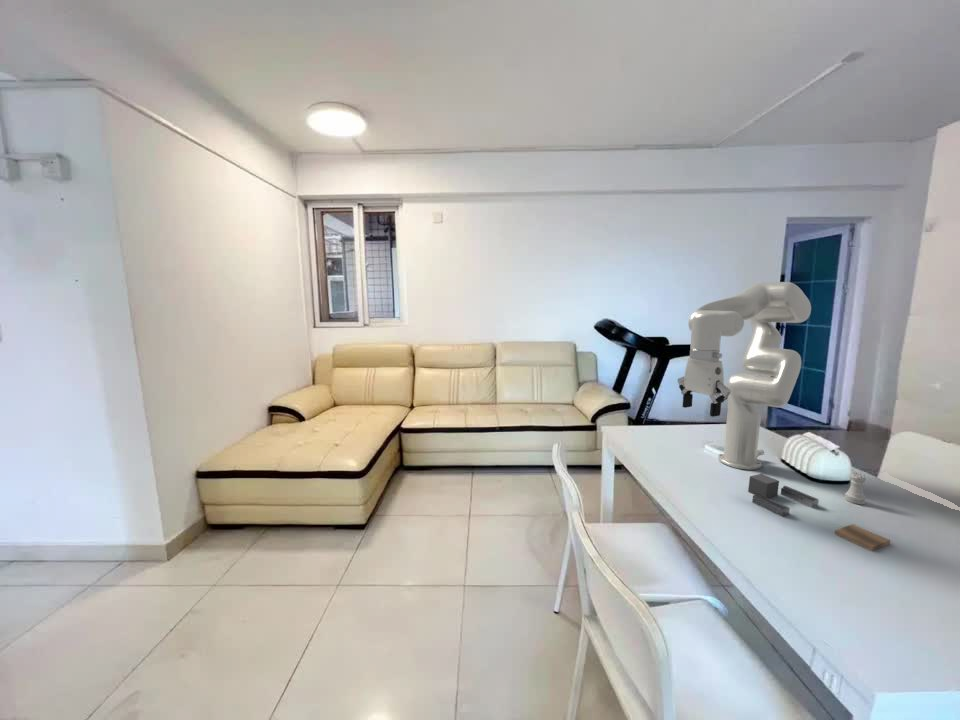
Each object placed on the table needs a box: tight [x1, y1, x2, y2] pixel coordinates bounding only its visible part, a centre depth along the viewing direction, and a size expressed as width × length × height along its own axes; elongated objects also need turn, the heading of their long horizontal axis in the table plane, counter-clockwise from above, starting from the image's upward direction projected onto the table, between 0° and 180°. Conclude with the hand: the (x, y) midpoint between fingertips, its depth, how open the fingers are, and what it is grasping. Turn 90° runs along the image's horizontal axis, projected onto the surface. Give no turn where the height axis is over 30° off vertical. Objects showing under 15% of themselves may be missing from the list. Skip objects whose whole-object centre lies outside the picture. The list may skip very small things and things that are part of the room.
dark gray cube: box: [747, 473, 780, 499], centre depth 113 cm, size 5×5×5 cm
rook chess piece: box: [844, 472, 867, 506], centre depth 108 cm, size 4×4×8 cm
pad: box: [834, 523, 891, 552], centre depth 92 cm, size 7×7×1 cm
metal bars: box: [752, 485, 819, 517], centre depth 108 cm, size 14×8×2 cm, turn 110°
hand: (700, 411), depth 116 cm, fingers open, 9 cm apart
